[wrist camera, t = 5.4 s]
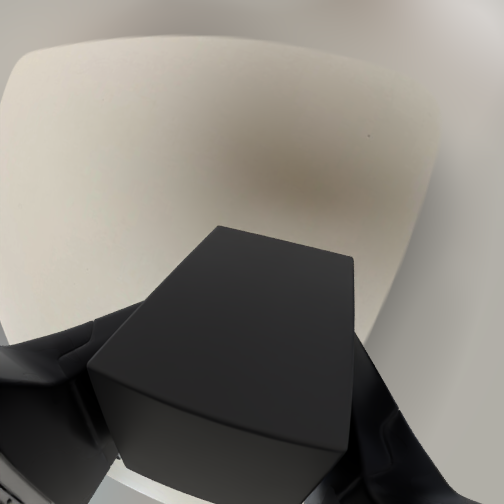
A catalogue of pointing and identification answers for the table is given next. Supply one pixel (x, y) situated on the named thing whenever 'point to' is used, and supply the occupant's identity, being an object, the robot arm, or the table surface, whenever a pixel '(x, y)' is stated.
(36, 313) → the table surface
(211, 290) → the block
